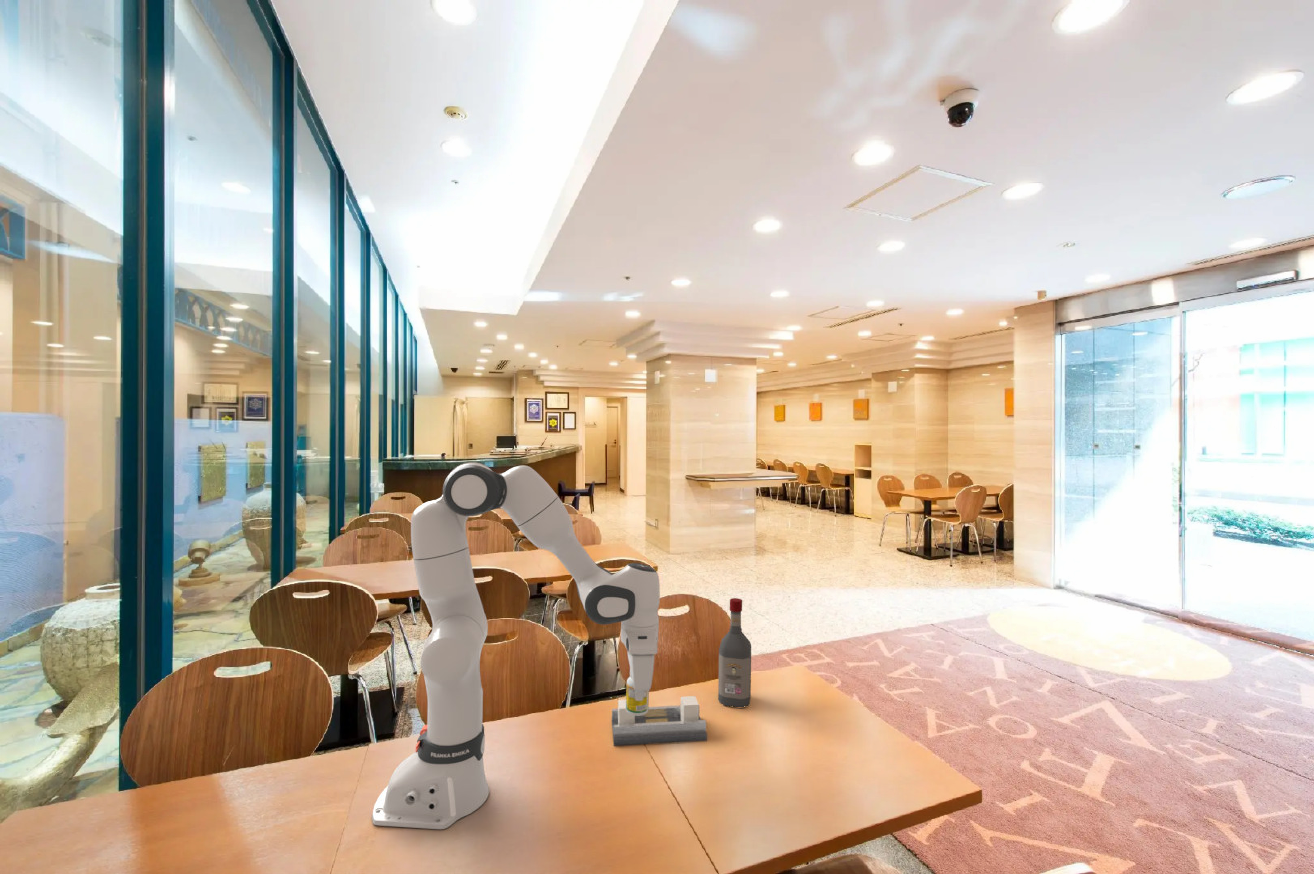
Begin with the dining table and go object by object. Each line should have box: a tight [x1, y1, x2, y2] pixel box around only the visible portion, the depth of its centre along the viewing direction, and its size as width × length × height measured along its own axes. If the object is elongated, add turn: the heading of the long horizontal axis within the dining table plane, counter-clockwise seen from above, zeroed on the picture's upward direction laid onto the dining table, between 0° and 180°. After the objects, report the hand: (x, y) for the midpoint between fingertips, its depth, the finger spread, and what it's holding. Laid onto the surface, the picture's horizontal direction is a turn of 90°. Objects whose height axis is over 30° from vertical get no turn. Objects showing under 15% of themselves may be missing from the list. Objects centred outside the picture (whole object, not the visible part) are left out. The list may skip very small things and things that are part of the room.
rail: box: [611, 704, 708, 747], centre depth 142 cm, size 24×12×4 cm, turn 98°
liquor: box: [717, 597, 752, 708], centre depth 159 cm, size 9×9×30 cm
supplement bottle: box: [625, 669, 650, 716], centre depth 125 cm, size 5×5×10 cm
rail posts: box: [617, 695, 700, 725], centre depth 142 cm, size 21×5×6 cm, turn 98°
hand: (637, 692), depth 125 cm, fingers closed on supplement bottle, 5 cm apart
